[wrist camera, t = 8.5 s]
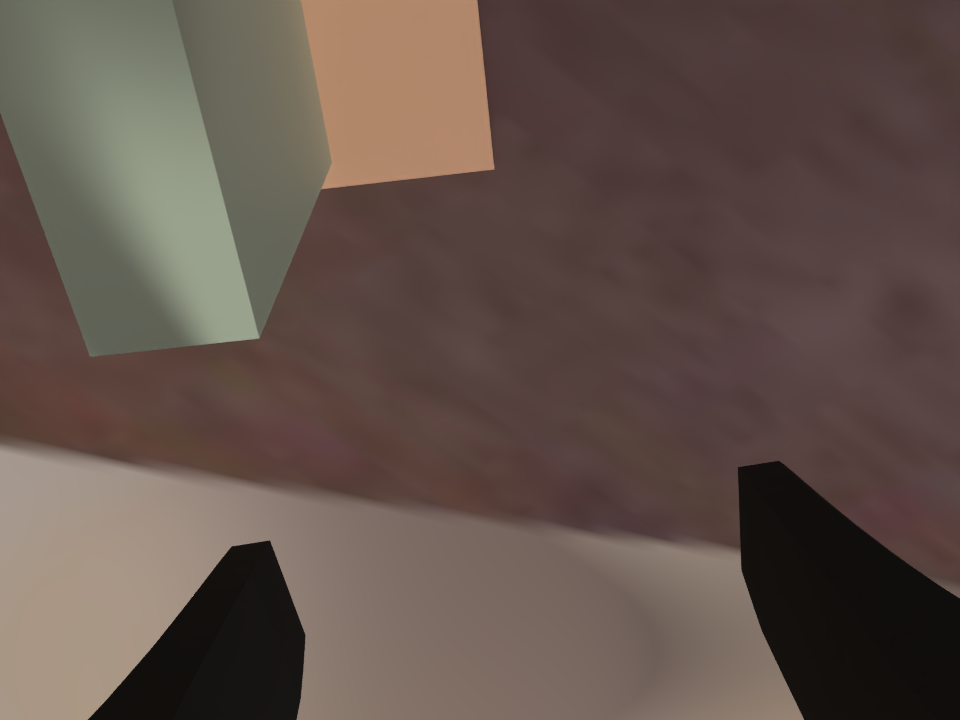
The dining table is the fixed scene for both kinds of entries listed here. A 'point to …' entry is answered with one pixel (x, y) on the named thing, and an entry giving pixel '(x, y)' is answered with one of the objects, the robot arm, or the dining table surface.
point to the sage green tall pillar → (165, 158)
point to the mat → (400, 88)
